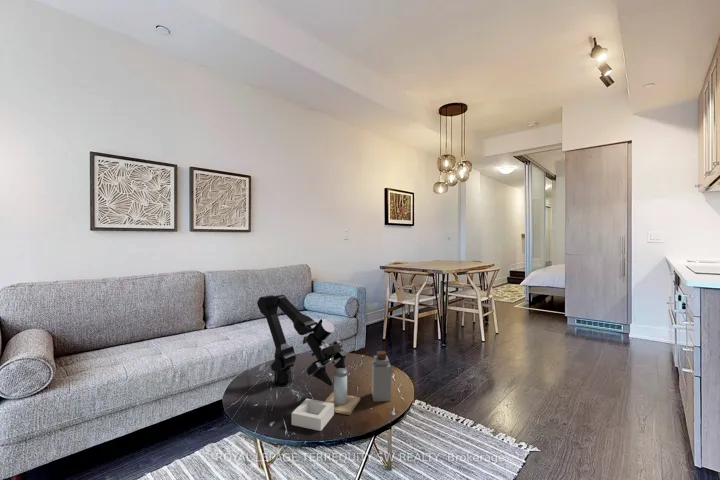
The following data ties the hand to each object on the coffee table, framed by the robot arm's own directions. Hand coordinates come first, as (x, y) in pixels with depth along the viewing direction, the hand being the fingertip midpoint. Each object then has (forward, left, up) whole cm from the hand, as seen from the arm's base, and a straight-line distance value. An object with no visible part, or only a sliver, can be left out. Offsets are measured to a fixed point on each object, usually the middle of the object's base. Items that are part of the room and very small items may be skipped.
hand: (339, 381), depth 131 cm
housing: (-4, -13, -9) cm, 16 cm away
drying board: (+1, 0, -9) cm, 9 cm away
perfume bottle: (+14, +11, -9) cm, 20 cm away
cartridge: (+1, 0, -8) cm, 8 cm away
